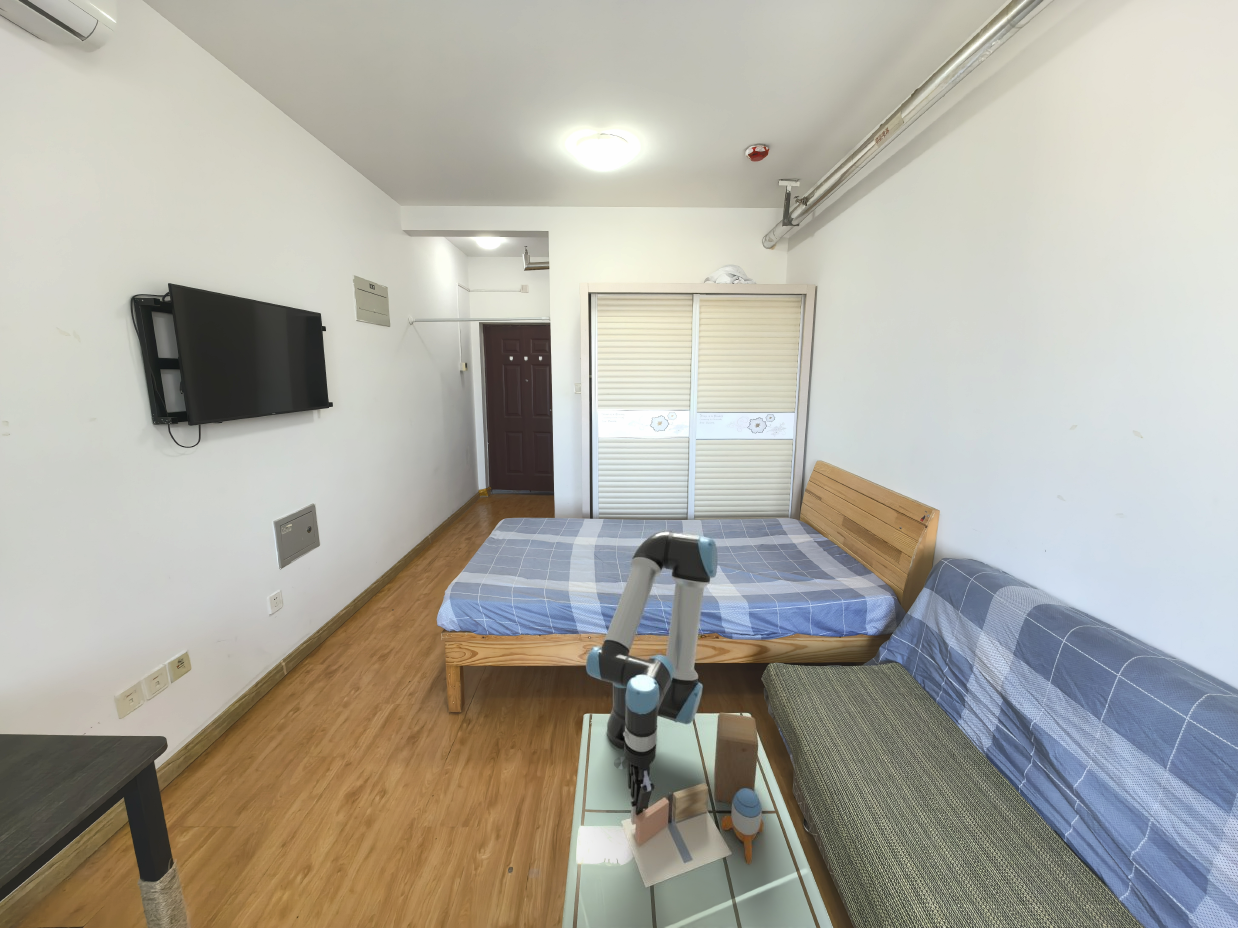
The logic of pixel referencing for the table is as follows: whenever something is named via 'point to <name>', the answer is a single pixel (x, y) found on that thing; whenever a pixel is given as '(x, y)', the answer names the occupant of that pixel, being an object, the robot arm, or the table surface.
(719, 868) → the table surface
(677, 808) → the fixed fence panel
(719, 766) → the wooden block
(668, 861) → the card
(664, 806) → the hinged fence panel
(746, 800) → the toy rocket
